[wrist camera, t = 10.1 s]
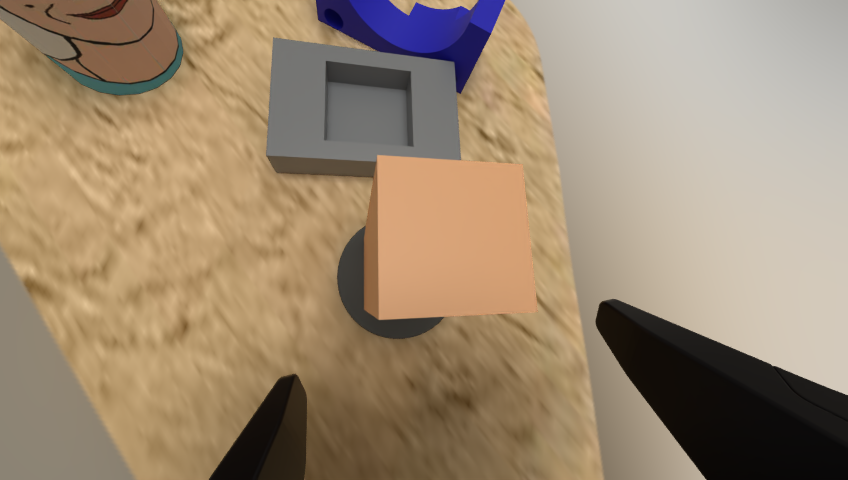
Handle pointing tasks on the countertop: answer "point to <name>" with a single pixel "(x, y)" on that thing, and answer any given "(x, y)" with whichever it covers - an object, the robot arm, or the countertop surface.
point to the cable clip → (417, 29)
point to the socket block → (357, 109)
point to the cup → (101, 40)
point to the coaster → (354, 296)
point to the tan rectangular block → (447, 240)
